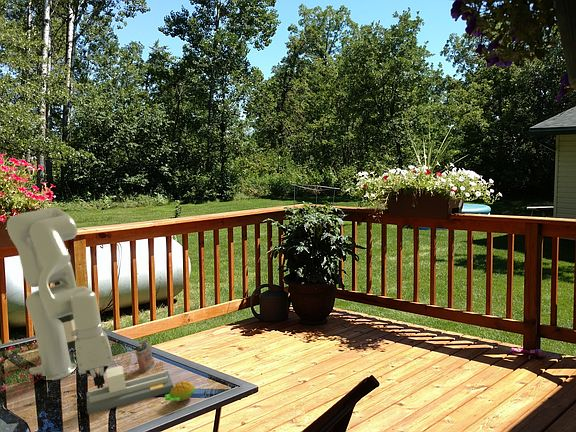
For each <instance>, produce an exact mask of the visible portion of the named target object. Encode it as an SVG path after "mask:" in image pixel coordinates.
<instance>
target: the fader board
mask: <svg viewBox="0 0 576 432" xmlns="http://www.w3.org/2000/svg"><path fill="white" fill-rule="evenodd" d="M125 383H126V389H123V390H119V391H115V392H112V393H110V391H109V386H103V388H101V387H100V389H98V388H96V389H92V390H88V391H87V392H86V410H87V411H86V412H87V415H92V414H95V413H98V412H102V411H106V410H111V409H114V408H117V407H122V406H124V405H128V404H131V403H135V402H138V401H143V400H145V399H150V398H153V397H156V396H159V395H161V396H162V395H164V394H167V393H168V394H169V393H170V392H171V390H172V388H173V387H174V384H173V380H172V378H171V376H170V373H169V370H163V371H159V372H156V373H151V374H148V375H145V376H141V377H137V378H134V379H129V380H125Z"/></svg>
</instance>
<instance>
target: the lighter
mask: <svg viewBox="0 0 576 432" xmlns="http://www.w3.org/2000/svg"><path fill="white" fill-rule="evenodd" d="M148 342H149V339H148V337H145V338H144V339H143V340H142V341H139V342H138V344H137V350H136V351H135V355H136V357H137V358H136V359H137V362H138V363H137V365H138V367H139V369H138V372H139V374H145V373H146V372H148V371H150V370H151V369H152V368H153V366H154V365H155V362H154V359H153V354H152V344H151V343H148Z"/></svg>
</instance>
